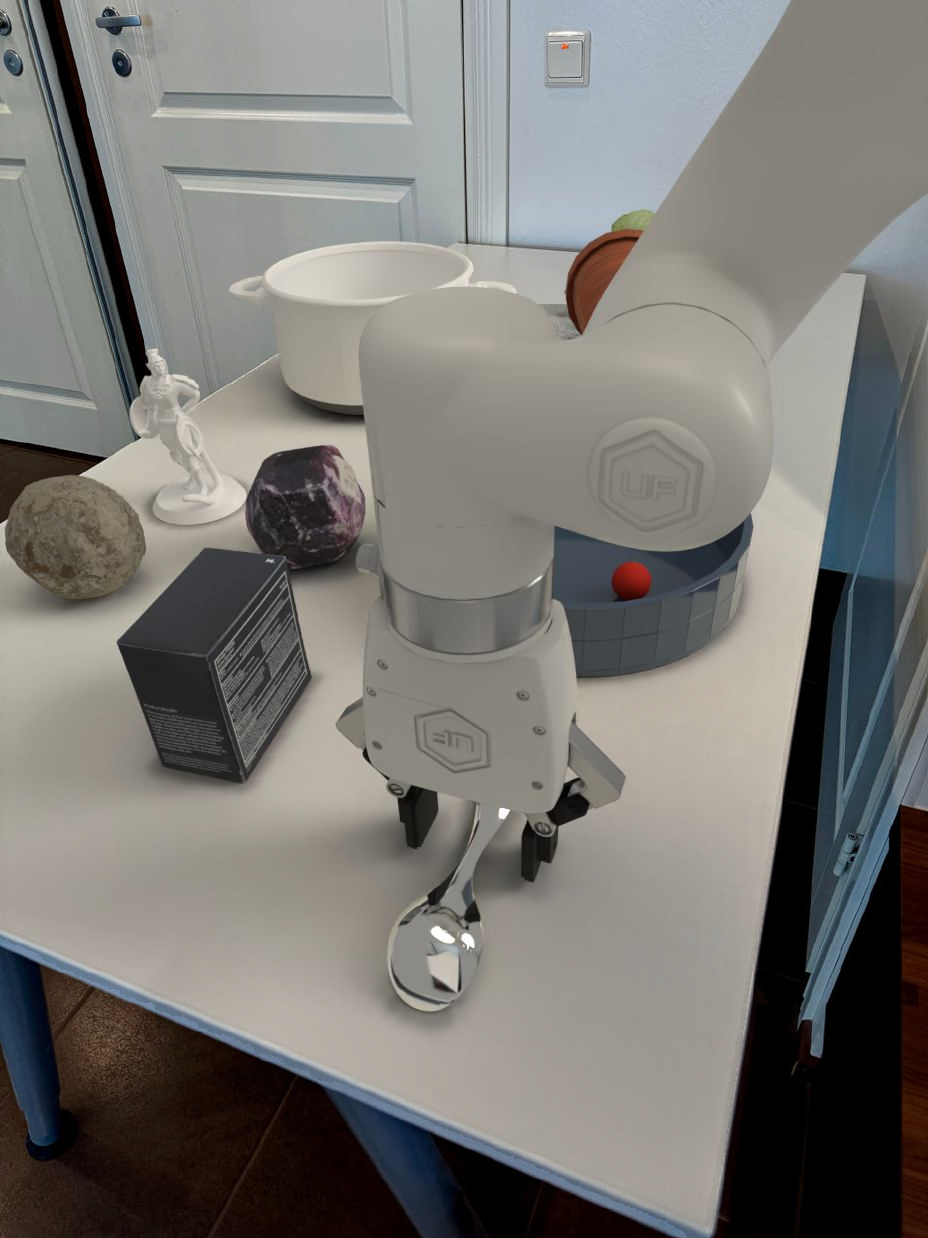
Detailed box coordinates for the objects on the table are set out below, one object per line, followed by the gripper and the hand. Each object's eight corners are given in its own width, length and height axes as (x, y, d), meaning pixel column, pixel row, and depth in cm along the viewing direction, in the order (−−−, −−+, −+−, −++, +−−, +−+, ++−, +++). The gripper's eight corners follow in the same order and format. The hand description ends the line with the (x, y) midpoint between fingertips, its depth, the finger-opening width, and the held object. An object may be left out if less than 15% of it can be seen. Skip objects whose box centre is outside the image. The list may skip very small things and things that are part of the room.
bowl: (756, 517, 78) (768, 455, 74) (716, 711, 58) (729, 641, 55) (477, 476, 86) (475, 419, 82) (359, 636, 66) (350, 570, 63)
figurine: (132, 513, 82) (85, 357, 73) (194, 472, 89) (157, 324, 80) (206, 532, 79) (166, 372, 70) (265, 488, 85) (235, 335, 76)
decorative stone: (178, 568, 75) (148, 462, 69) (119, 626, 68) (81, 515, 62) (76, 552, 77) (40, 448, 71) (11, 607, 71) (-36, 498, 65)
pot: (531, 357, 110) (533, 242, 102) (498, 438, 92) (496, 306, 84) (285, 346, 117) (267, 237, 108) (208, 419, 99) (180, 295, 90)
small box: (233, 663, 64) (202, 541, 58) (315, 677, 63) (292, 553, 56) (154, 766, 56) (108, 638, 50) (246, 785, 55) (210, 655, 48)
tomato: (652, 590, 69) (656, 557, 67) (645, 612, 66) (649, 579, 65) (615, 583, 70) (617, 551, 68) (606, 604, 67) (608, 572, 66)
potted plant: (690, 396, 103) (667, 281, 129) (700, 265, 93) (673, 169, 119) (556, 402, 105) (560, 288, 131) (552, 275, 95) (557, 179, 121)
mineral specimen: (338, 585, 68) (277, 470, 64) (256, 593, 75) (197, 489, 71) (408, 525, 75) (357, 416, 71) (327, 537, 82) (277, 439, 78)
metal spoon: (485, 680, 56) (558, 693, 54) (487, 718, 58) (557, 732, 57) (368, 970, 41) (463, 996, 40) (377, 1006, 44) (467, 1031, 42)
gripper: (255, 598, 39) (312, 856, 50) (645, 678, 34) (613, 946, 44) (333, 515, 44) (369, 763, 55) (678, 573, 39) (643, 834, 50)
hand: (478, 843), depth 50 cm, fingers open, 6 cm apart
